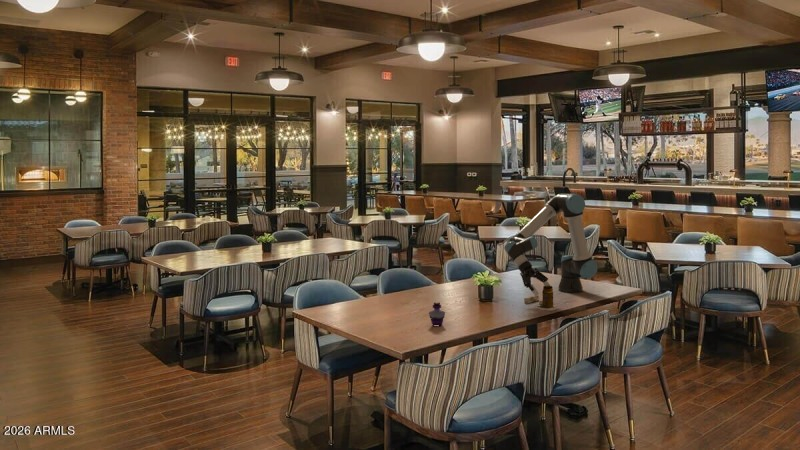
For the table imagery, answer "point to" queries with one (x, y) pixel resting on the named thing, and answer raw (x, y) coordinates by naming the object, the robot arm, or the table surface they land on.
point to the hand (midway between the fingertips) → (544, 293)
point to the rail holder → (532, 299)
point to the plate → (548, 308)
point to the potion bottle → (437, 314)
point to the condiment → (547, 297)
